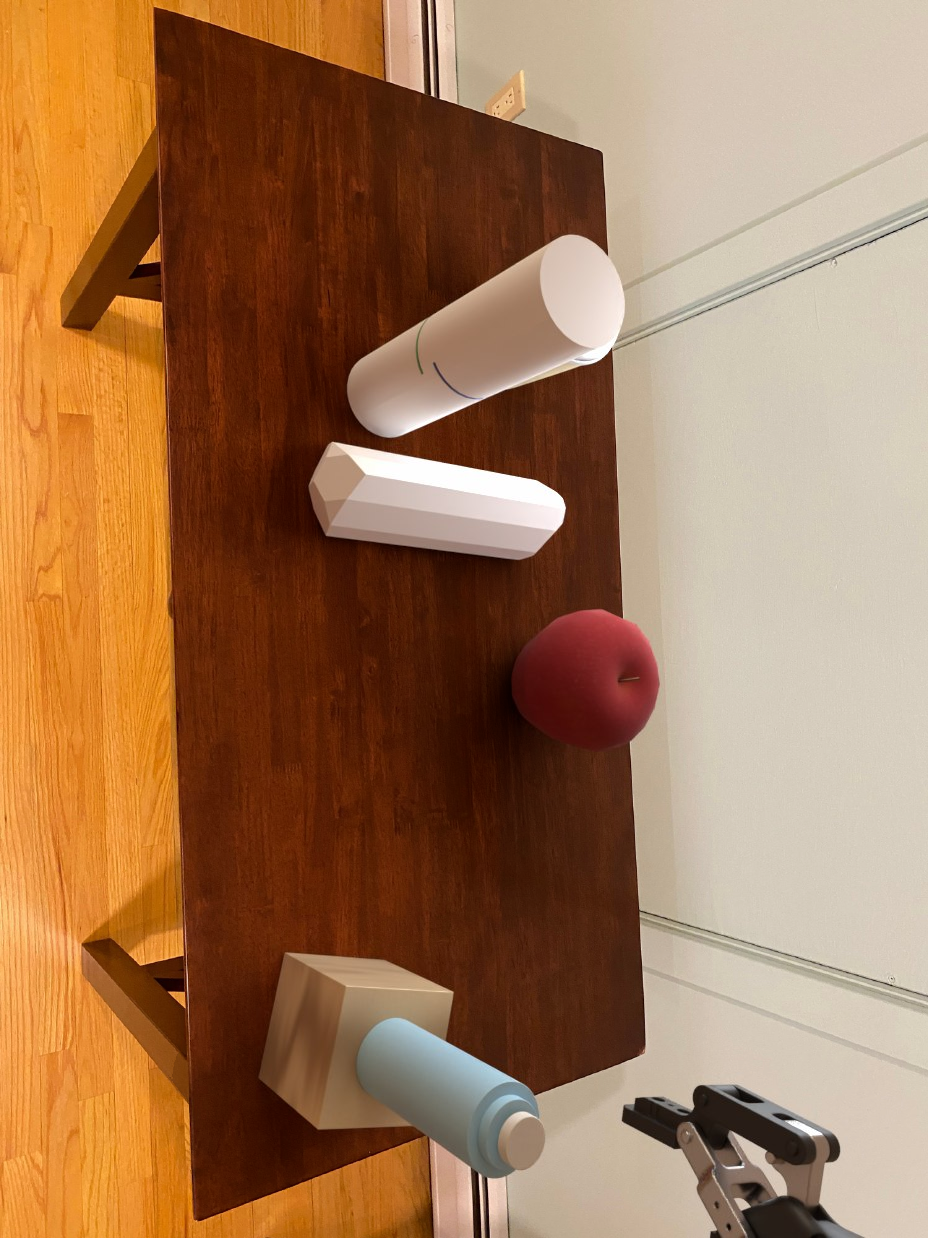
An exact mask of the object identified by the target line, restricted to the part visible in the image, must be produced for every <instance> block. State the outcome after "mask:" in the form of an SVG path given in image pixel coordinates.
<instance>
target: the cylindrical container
mask: <svg viewBox="0 0 928 1238" xmlns="http://www.w3.org/2000/svg"><path fill="white" fill-rule="evenodd" d="M624 293H625V292H624V288H623V284H622V281H621V278H620V275H619V273H618V272H617V268H616V267H615V265H614V263H613V261H612V260H611V258H610V257H609V256H608V254H607V253H606V252H605V251H604V250H603V249H602V248H601V247H600V246H599V245H597V244H596V243H595V242H594V241H592V240H591V239H588V238H587V237H585V236H582V235H579V234H566V235H562V236H560V237H557V238H556V239H554V240H552V241H551V242H549V243H547V244H545V245H544V246H542V247H541V248H539V249H537V250H536V251H534V252H532V253H531V254H529V255H528V256H526V257H524V258H523V259H521V260H519V261H518V262H516V263H514V264H513V265H511V266H509V267H508V268H507V269H505V270H504V271H502V272H500V273H498V274H497V275H495V276H493V277H492V278H490V279H489V280H487V281H485V282H484V283H482V284H481V285H479V286H477V287H476V288H474V289H473V290H471V291H469V292H468V293H466V294H464V295H463V296H461V297H460V298H458V299H456V300H454V301H453V302H451V303H450V304H447V305H446V306H445V307H443V308H442V309H440V310H438V311H437V312H436V313H433V314H432V315H430V316H429V317H427V318H425V319H424V320H422V321H420V322H419V323H417V324H415V325H414V326H412V327H410V328H409V329H407V330H406V331H404V332H402V333H400V334H399V335H398V336H396V337H394V338H393V339H391V340H390V341H388V342H386V343H385V344H383V345H381V346H380V347H378V348H377V349H375V350H373V351H372V352H369V354H367V355H365V356H364V357H362V358H360V359H359V360H358V361H357V362H356V363H355V364H354V365H353V367H352V368H351V370H350V373H349V375H348V379H347V384H346V394H347V399H348V403H349V407H350V408H351V411H352V413H353V415H354V416H355V418H356V419H357V420H358V422H359V423H360V424H361V425H362V426H363V427H364V428H365V429H366V430H367V431H369V432H370V433H372V434H374V435H376V436H379V437H383V438H389V439H390V438H391V439H392V438H398V437H401V436H404V435H406V434H408V433H410V432H413V431H415V430H417V429H420V428H422V427H425V426H426V425H429V424H431V423H433V422H435V421H438V420H440V419H442V418H445V417H446V416H449V415H451V414H453V413H455V412H458V411H460V410H462V409H465V408H467V407H469V406H471V405H473V404H476V403H478V402H481V401H482V400H483V401H484V400H485V399H488V398H490V397H492V396H494V395H496V394H500V393H502V392H504V391H505V390H509V389H508V388H510V387H512V386H515V385H517V384H519V383H521V382H524V381H526V380H528V379H530V378H533V377H535V376H537V375H539V374H542V373H544V372H546V371H548V370H551V369H553V368H555V367H558V366H560V365H562V364H564V363H567V362H569V361H571V360H573V359H576V358H578V357H580V356H582V355H585V354H587V353H589V352H591V351H594V350H596V349H598V348H601V347H603V346H605V345H607V344H608V343H610V342H611V341H612V340H613V339H614V338H615V337H616V336H617V334H618V335H619V333H620V330H621V329H622V325H623V322H624V319H625V313H626V312H625V311H626V305H625V303H626V302H625V301H626V300H625V294H624ZM617 337H618V336H617Z"/></svg>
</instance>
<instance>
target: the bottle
mask: <svg viewBox="0 0 928 1238" xmlns="http://www.w3.org/2000/svg"><path fill="white" fill-rule="evenodd" d="M356 1070H357V1076H358V1080H359V1083H360V1084H361V1086H362V1088H363V1089H364V1090H365V1091H366V1092H367V1093H368V1094H369V1095H371V1096H372V1097H374V1098H375V1099H376V1100H378V1101H379V1102H381V1103H382V1104H383V1105H385V1106H386V1107H388V1108H389V1109H390V1110H392V1111H393V1112H394V1113H396V1114H397V1115H399V1116H400V1117H401V1118H403V1119H404V1120H406V1121H407V1122H408V1123H410V1124H411V1125H413V1126H412V1127H414V1129H416V1130H418V1131H420V1133H422V1134H424V1135H425V1136H426V1137H427V1138H429V1139H430V1140H432V1141H433V1142H434V1143H436V1144H438V1145H439V1146H440V1147H441V1148H443V1149H445V1150H446V1151H447V1152H449V1153H450V1154H452V1156H454V1157H456V1159H458V1160H460V1161H461V1162H462V1163H463V1164H466V1165H467V1166H468V1167H469V1168H471V1169H472V1170H474V1171H475V1172H477V1173H478V1174H479V1175H481V1176H482V1177H484V1178H488V1179H492V1180H493V1179H494V1180H496V1179H501V1178H505V1177H507V1176H509V1175H511V1174H513V1173H514V1172H515V1171H525V1170H528V1169H530V1168H531V1167H533V1166H534V1165H535V1164H536V1163H537V1161H538V1160H539V1159H540V1157H541V1155H542V1154H543V1151H544V1148H545V1143H546V1131H545V1127H544V1124H543V1123H542V1121H541V1120H540V1109H539V1105H538V1101H537V1099H536V1096H535V1094H534V1092H532V1090H531V1089H530V1088H529V1087H528V1086H527V1085H526V1084H524V1083H523V1082H521V1081H518V1080H516V1079H515V1078H513V1077H511V1076H509V1075H508V1074H506V1073H504V1072H502V1071H500V1070H498V1069H497V1068H495V1067H494V1066H491V1065H489V1064H488V1063H486V1062H484V1061H482V1060H480V1059H478V1058H477V1057H475V1056H473V1055H471V1054H469V1053H468V1052H466V1051H464V1050H462V1049H460V1048H459V1047H457V1046H455V1045H454V1044H451V1043H449V1042H447V1041H444V1040H442V1039H440V1038H438V1037H436V1036H435V1035H433V1034H431V1033H429V1032H427V1031H426V1030H424V1029H422V1028H420V1027H418V1026H416V1025H415V1024H413V1023H411V1022H409V1021H407V1020H405V1019H402V1018H391V1019H387V1020H384V1021H382V1022H380V1023H379V1024H377V1025H376V1026H375V1027H374V1028H373V1029H372V1030H371V1031H370V1032H369V1033H368V1034H367V1036H366V1037H365V1039H364V1040H363V1042H362V1044H361V1046H360V1049H359V1052H358V1056H357V1062H356Z"/></svg>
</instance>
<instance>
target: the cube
mask: <svg viewBox="0 0 928 1238" xmlns="http://www.w3.org/2000/svg"><path fill="white" fill-rule="evenodd" d="M453 998H454V991H453V990H450V989H448V988H446V987H443V986H442V985H439V984H437V983H435V982H433V981H431V980H430V979H429V980H428V979H427V978H425V977H423V976H420V975H418V974H416V973H414V972H411V971H409V970H407V969H405V968H403V967H402V966H401V967H400V966H399V965H396V964H394V963H392V962H390V961H388V960H386V959H377V958H363V957H352V956H351V957H350V956H339V955H337V956H336V955H325V954H311V953H298V952H297V953H296V952H284V954H283V960H282V963H281V967H280V973H279V977H278V982H277V987H276V992H275V996H274V1000H273V1001H274V1002H273V1005H272V1006H273V1007H272V1011H271V1016H270V1020H269V1026H268V1031H267V1035H266V1040H265V1045H264V1050H263V1054H262V1059H261V1064H260V1069H259V1073H258V1080H260V1081H261V1082H262V1083H263V1084H265V1085H266V1087H268V1088H269V1089H270V1090H271V1091H273V1092H274V1093H275V1094H276V1095H278V1096H279V1097H280V1098H281V1100H283V1101H284V1102H285V1103H286V1104H288V1105H289V1106H290V1107H291V1108H292V1109H294V1110H295V1112H297V1113H298V1114H299V1115H300V1116H302V1117H303V1118H304V1119H305V1120H306V1121H308V1123H309V1124H311V1125H312V1126H313V1127H314V1128H316V1129H317V1130H319V1131H320V1130H343V1129H344V1130H346V1129H366V1128H369V1129H371V1128H397V1127H398V1128H399V1127H400V1128H401V1127H414V1126H413V1125H411V1124H410V1123H408V1122H407V1121H406V1120H404V1119H403V1118H401V1117H400V1116H399V1115H397V1114H396V1113H394V1112H393V1111H392V1110H390V1109H389V1108H388V1107H386V1106H385V1105H383V1104H382V1103H381V1102H379V1101H378V1100H376V1099H375V1098H374V1097H372V1096H371V1095H369V1094H368V1093H367V1092H366V1091H365V1090H364V1089H363V1088H362V1086H361V1084H360V1083H359V1080H358V1076H357V1070H356V1062H357V1056H358V1052H359V1049H360V1046H361V1044H362V1042H363V1040H364V1039H365V1037H366V1036H367V1034H368V1033H369V1032H370V1031H371V1030H372V1029H373V1028H374V1027H375V1026H376V1025H377V1024H379V1023H380V1022H382V1021H384V1020H387V1019H391V1018H402V1019H405V1020H407V1021H409V1022H411V1023H413V1024H415V1025H416V1026H418V1027H420V1028H422V1029H424V1030H426V1031H427V1032H429V1033H431V1034H433V1035H435V1036H436V1037H438V1038H440V1039H442V1040H444V1041H446V1040H447V1034H448V1029H449V1022H450V1017H451V1012H452V1011H451V1010H452V1005H453ZM446 1042H447V1041H446Z"/></svg>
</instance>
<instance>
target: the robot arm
mask: <svg viewBox="0 0 928 1238" xmlns="http://www.w3.org/2000/svg"><path fill="white" fill-rule="evenodd" d="M692 1103H693V1107H692V1109H691V1108H688V1107H686V1106H684V1105H681V1104H680V1103H677V1102H675V1101H673V1100H671V1099H670V1098H666V1097H664V1096H640V1097H635V1098H634V1103H628V1104H623V1106H622V1113H621V1122H622V1123H623V1124H625V1125H627V1126H629V1127H631V1128H633V1129H634V1130H636V1131H639V1132H640V1133H643V1134H644V1135H646V1136H647V1137H649V1138H652V1139H653V1140H656V1141H658V1142H659V1143H662V1144H663V1145H665V1146H667V1147H669V1148H671V1149H672V1150H681V1152H682V1153H683V1155H684V1157H685V1158H686V1160H687V1162H688V1164H689V1166H690V1168H691V1169H692V1171H693V1173H694V1175H695V1177H696V1178H697V1179H696V1180H697V1182H698V1184H697V1185H696V1192H697V1196H698V1197H699V1199H700V1201H701V1203H702V1204H703V1206H704V1208H705V1210H706V1212H707V1214H708V1216H709V1218H710V1219H711V1221H712V1223H713V1225H714V1226H715V1228H716V1230H710V1231H709V1238H866V1236H865V1237H864V1236H862V1235H860V1234H858V1233H855V1232H854V1231H851V1230H849V1229H847V1228H845V1227H843V1226H842V1225H840V1223H838V1222H837V1221H836V1220H835V1219H833V1218H832V1216H831V1215H830V1214H829V1212H828V1211H827V1210H826V1209H825V1207H823V1205H822V1204H821V1203H820V1200H821V1191H822V1186H823V1185H822V1184H823V1178H824V1171H825V1166H826V1165H825V1164H828V1163H834V1162H836V1161H838V1159H839V1157H840V1155H841V1145H840V1142H839V1139H838V1137H836V1134H834V1133H833V1132H832V1131H830V1130H828V1129H826V1128H825V1127H824V1126H820V1125H819V1124H816V1123H814V1122H812V1121H811V1120H808V1119H807V1118H804V1117H803V1116H801V1115H799V1114H797V1113H795V1112H793V1111H791V1110H789V1109H787V1108H785V1107H783V1106H781V1105H779V1104H776V1103H775V1102H773V1101H771V1100H769V1099H767V1098H765V1097H763V1096H761V1095H759V1094H757V1093H755V1092H753V1091H752V1090H749V1089H748V1088H745V1087H743V1086H741V1085H739V1084H699V1085H697V1086H696V1087H695V1088H694V1089H693V1091H692ZM734 1134H736V1135H738V1136H740V1137H741V1138H743V1139H744V1140H747V1141H748V1142H750V1143H751V1144H754V1145H755V1146H758V1147H759V1148H761V1149H763V1150H764V1151H766V1152H765V1153H764V1159H765V1162H766V1163H767V1164H769V1165H771V1166H772V1168H773V1169H774V1170H775V1172H777V1173H779V1174H780V1175H781V1177H782V1179H783V1180H784V1182H785V1186H786V1195H785V1194H784V1195H778V1194H777V1193H776V1191H775V1189H774V1187H773V1186H772V1184H771V1182H770V1181H769V1179H768V1177H767V1176H766V1174H765V1173H764V1171H763V1170H762V1168H760V1167H759V1166H758V1165H756V1164H754V1163H752V1161H750V1159H749V1158H748V1156H747V1155H746V1153H745V1151H744V1150H743V1148H742V1147H741V1144H740V1143H739V1141H738V1139H737V1138H736V1136H735V1135H734ZM736 1199H741V1200H743V1201H745V1202H746V1203H747V1204H748V1205H749V1207H747V1208H744V1209H741V1208H740V1206H739V1204H738V1203H737V1201H736Z"/></svg>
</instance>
